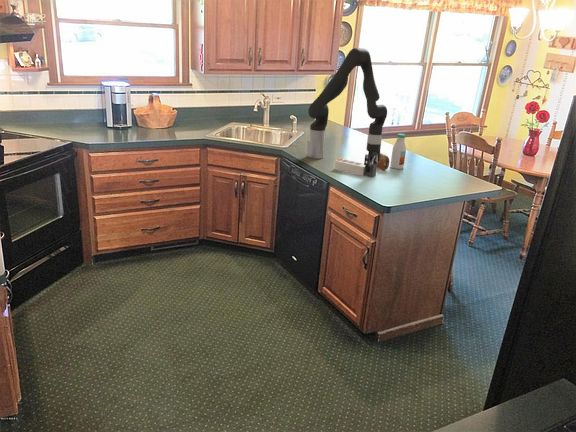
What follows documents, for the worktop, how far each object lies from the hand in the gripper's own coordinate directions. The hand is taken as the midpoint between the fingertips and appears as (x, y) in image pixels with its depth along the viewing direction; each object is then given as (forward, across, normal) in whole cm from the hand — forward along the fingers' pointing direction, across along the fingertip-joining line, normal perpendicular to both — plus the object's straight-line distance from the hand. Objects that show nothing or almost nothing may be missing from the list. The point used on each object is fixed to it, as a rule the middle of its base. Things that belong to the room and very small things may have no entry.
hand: (370, 171), depth 276 cm
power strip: (+3, 0, -12) cm, 12 cm away
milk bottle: (+3, -27, +4) cm, 27 cm away
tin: (+3, -19, -3) cm, 19 cm away
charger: (+2, 0, -2) cm, 3 cm away
